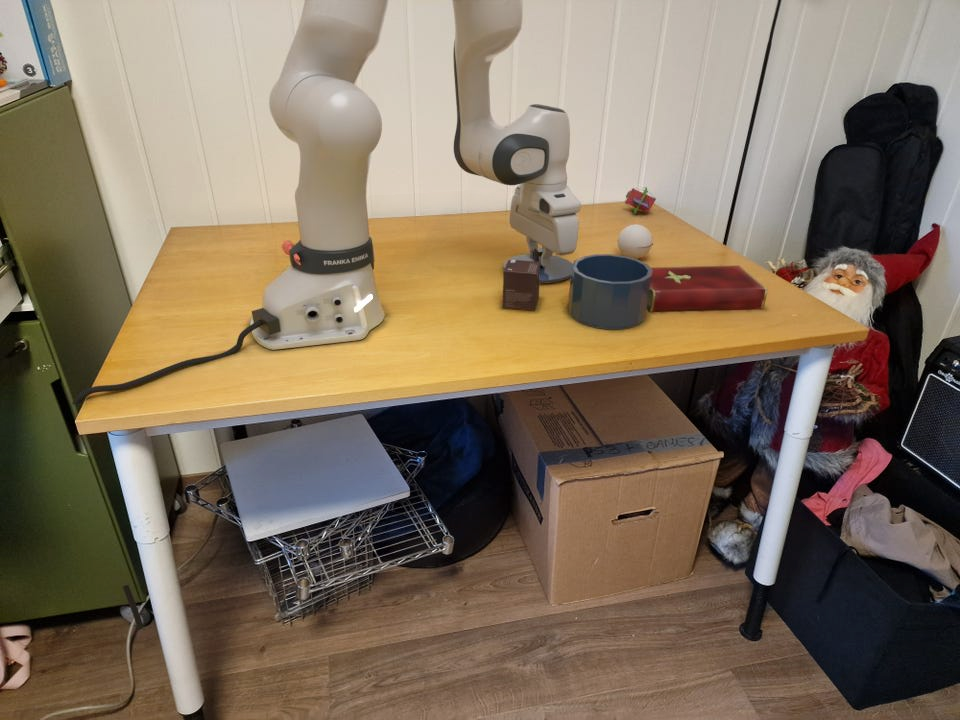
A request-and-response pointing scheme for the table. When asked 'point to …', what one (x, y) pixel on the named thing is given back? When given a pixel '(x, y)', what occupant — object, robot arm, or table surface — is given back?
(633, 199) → the red gift box
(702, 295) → the hardcover book
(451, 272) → the table surface
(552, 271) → the pot lid
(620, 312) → the pot
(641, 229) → the white sphere
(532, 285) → the box
